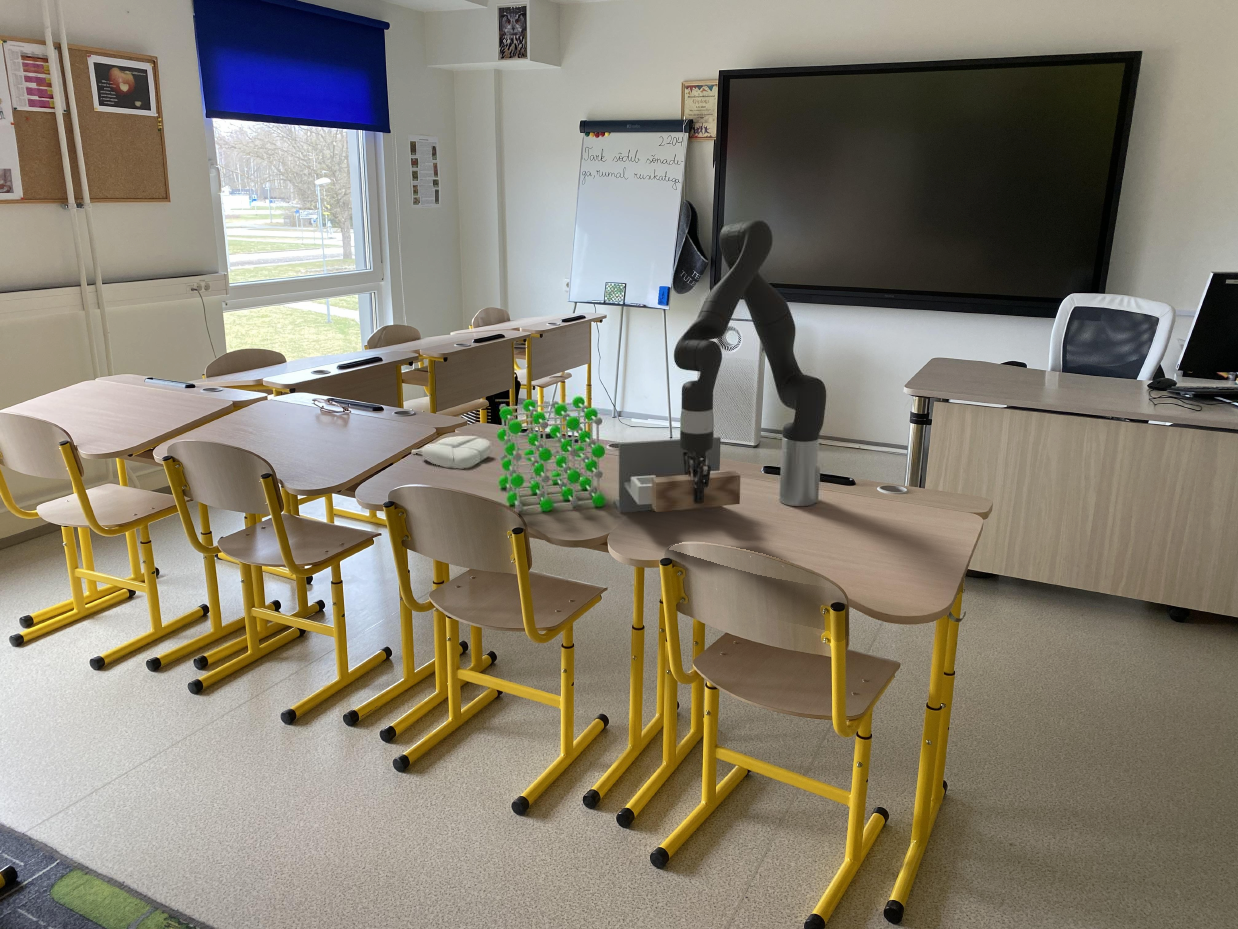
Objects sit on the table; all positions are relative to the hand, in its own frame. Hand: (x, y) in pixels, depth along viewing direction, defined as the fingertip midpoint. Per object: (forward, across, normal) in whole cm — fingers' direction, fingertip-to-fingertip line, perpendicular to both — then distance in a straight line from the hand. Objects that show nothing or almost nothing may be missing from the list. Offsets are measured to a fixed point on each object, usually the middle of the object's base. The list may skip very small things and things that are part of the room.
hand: (695, 499), depth 211 cm
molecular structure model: (+10, +37, +28) cm, 48 cm away
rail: (+1, 0, 0) cm, 1 cm away
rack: (+10, +17, 0) cm, 19 cm away
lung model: (+10, +80, +53) cm, 96 cm away
